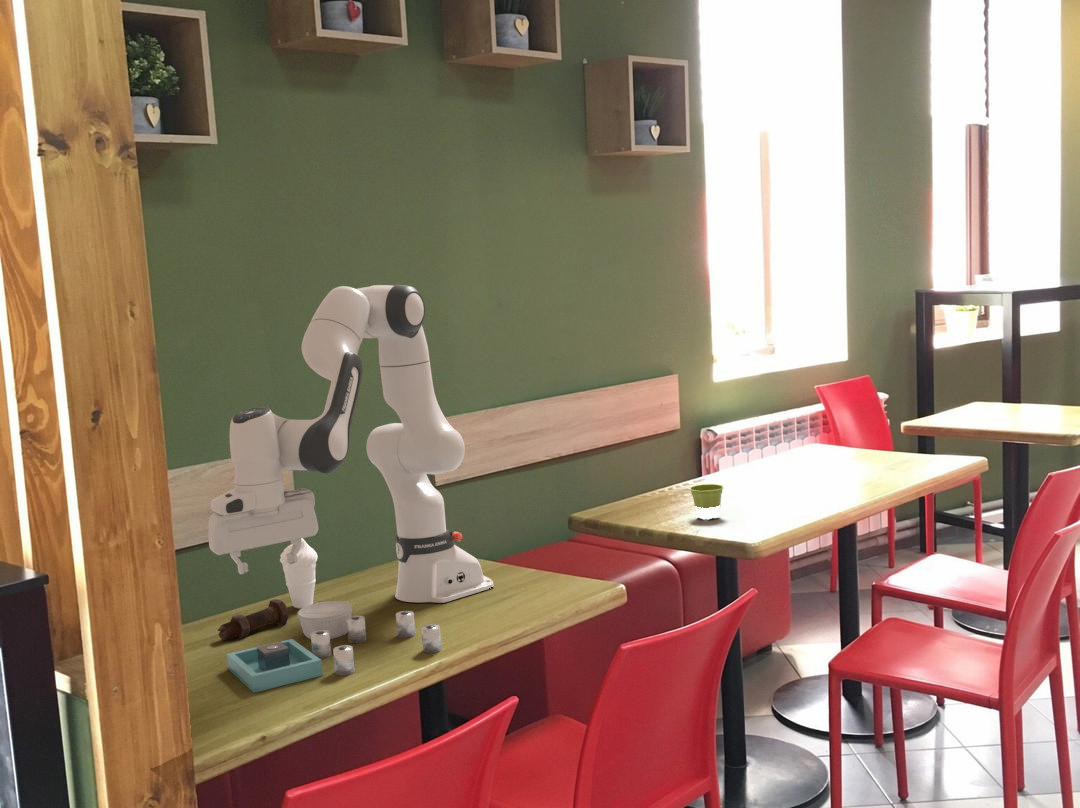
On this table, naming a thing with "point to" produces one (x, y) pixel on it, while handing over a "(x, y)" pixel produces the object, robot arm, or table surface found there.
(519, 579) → the table surface
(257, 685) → the tray
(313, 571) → the soft serve ice cream cone
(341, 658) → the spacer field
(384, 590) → the table surface
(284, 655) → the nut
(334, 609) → the ramekin
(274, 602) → the bolt
